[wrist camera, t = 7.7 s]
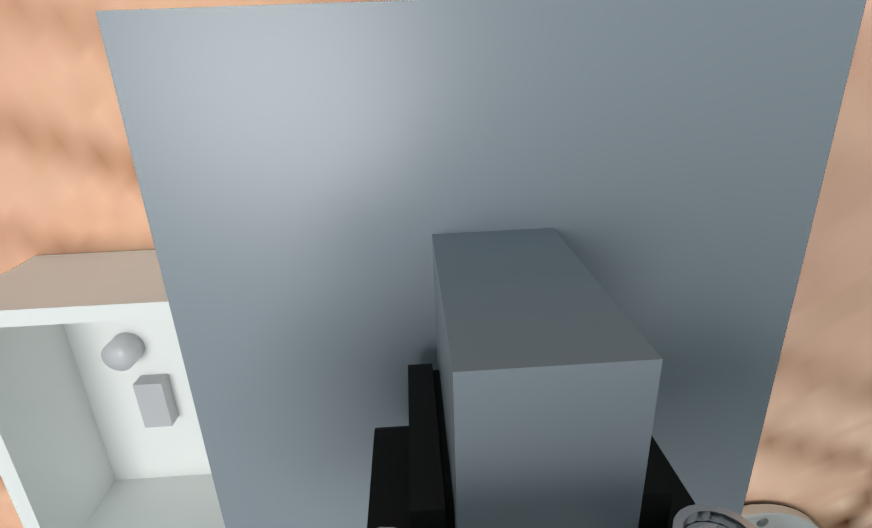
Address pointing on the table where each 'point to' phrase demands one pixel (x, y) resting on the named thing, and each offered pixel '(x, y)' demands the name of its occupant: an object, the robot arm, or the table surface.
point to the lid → (481, 237)
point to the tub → (98, 398)
